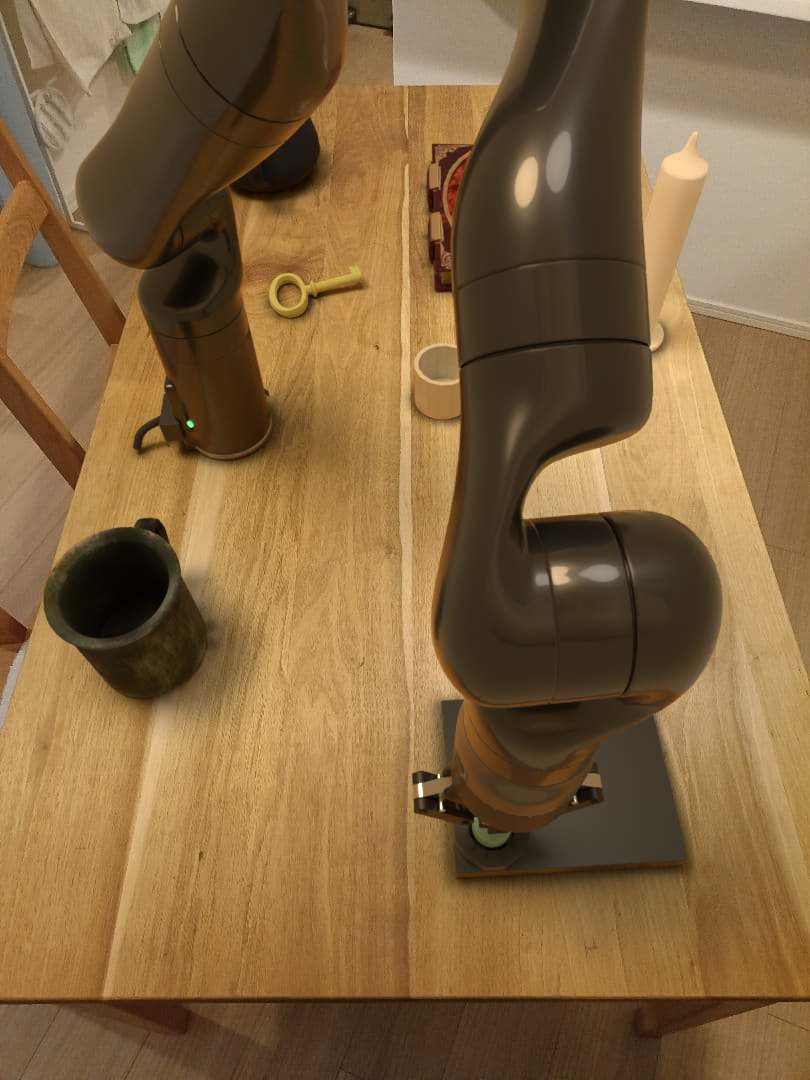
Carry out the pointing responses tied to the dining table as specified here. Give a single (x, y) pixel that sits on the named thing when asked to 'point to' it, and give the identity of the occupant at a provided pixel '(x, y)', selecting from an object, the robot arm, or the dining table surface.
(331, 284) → the key
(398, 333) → the dining table surface
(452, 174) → the book
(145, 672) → the mug
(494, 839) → the button
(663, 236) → the candle
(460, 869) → the scale
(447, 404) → the beige cup
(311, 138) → the teapot
